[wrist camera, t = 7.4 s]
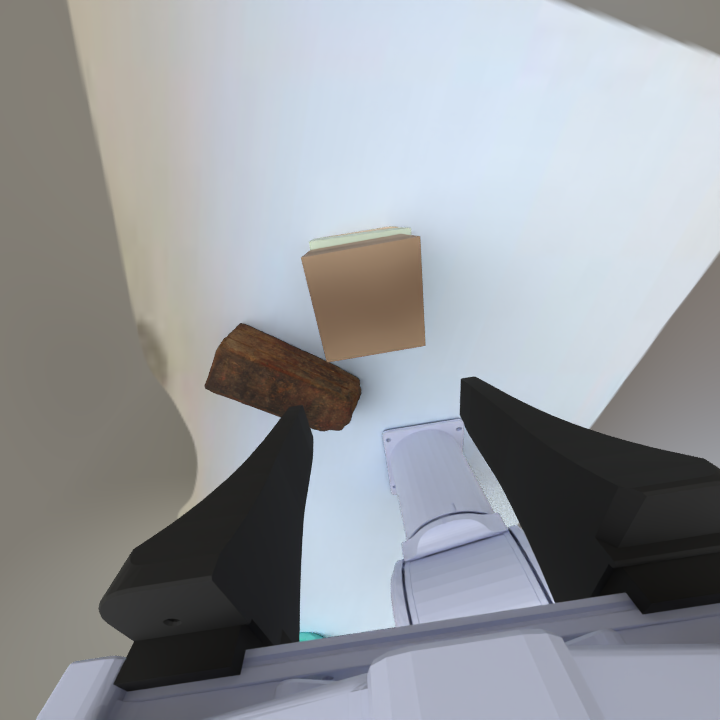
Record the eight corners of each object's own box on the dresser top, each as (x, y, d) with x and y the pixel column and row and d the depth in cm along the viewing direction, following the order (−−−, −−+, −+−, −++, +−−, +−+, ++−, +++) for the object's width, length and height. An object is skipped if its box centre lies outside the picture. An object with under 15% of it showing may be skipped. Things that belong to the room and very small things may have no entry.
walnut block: (408, 320, 15) (425, 345, 12) (329, 334, 15) (326, 362, 12) (401, 233, 13) (420, 236, 10) (310, 249, 13) (301, 257, 10)
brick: (226, 359, 22) (199, 391, 18) (242, 319, 20) (216, 344, 16) (339, 406, 25) (339, 443, 21) (360, 374, 23) (364, 406, 19)
